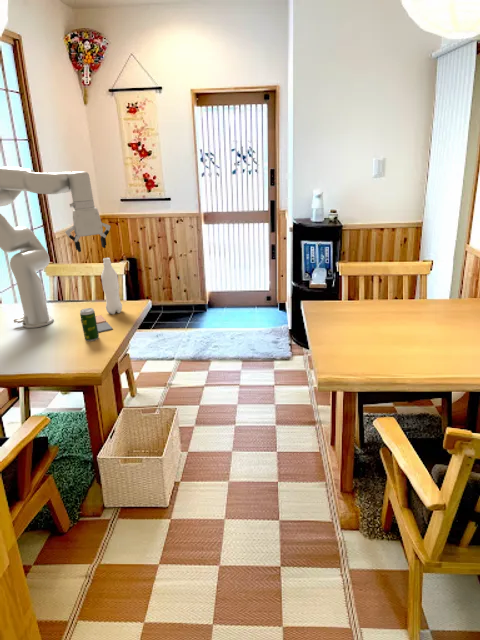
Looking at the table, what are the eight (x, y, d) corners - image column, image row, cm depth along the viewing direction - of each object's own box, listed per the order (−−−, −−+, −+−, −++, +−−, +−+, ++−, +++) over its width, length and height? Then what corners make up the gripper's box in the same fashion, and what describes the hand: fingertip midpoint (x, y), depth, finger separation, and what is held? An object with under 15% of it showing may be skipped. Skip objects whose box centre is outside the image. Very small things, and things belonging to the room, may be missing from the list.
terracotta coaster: (84, 326, 196) (84, 325, 195) (80, 320, 203) (80, 319, 203) (106, 321, 200) (106, 320, 199) (101, 316, 207) (101, 315, 207)
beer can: (94, 335, 185) (89, 307, 181) (101, 338, 182) (96, 309, 178) (82, 339, 182) (76, 310, 177) (89, 342, 178) (84, 313, 174)
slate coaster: (90, 334, 187) (90, 333, 186) (85, 327, 194) (85, 326, 194) (112, 329, 190) (112, 328, 190) (107, 323, 198) (107, 321, 198)
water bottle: (125, 309, 214) (117, 256, 205) (119, 315, 207) (111, 260, 199) (110, 310, 215) (101, 257, 206) (104, 315, 208) (95, 260, 200)
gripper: (62, 208, 171) (71, 254, 177) (109, 203, 179) (116, 247, 185) (58, 207, 177) (67, 251, 183) (103, 202, 185) (110, 244, 191)
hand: (91, 249), depth 184 cm, fingers open, 9 cm apart
